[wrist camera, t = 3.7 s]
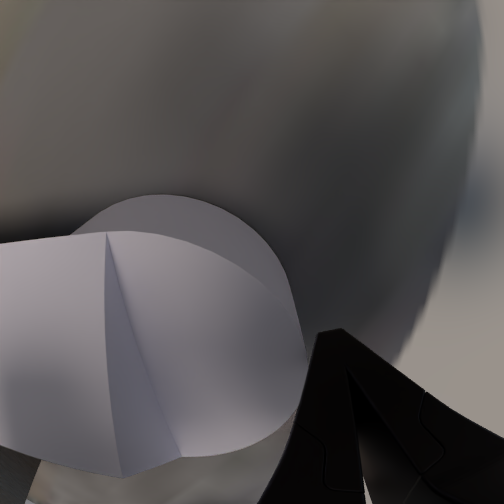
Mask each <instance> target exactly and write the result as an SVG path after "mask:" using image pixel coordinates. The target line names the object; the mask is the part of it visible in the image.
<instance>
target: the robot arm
mask: <svg viewBox="0 0 504 504" xmlns="http://www.w3.org/2000/svg"><path fill="white" fill-rule="evenodd" d="M363 477H364V480H365V483H366V486H367V489H368V492H369V495H370V498H371V501H372V504H504V438H502V437H500V436H498V435H497V434H495V433H493V432H491V431H489V430H487V429H486V428H484V427H482V426H480V425H478V424H476V423H475V422H473V421H471V420H469V419H467V418H466V417H464V416H462V415H461V414H459V413H457V412H456V411H454V410H452V409H451V408H449V407H448V406H446V405H445V404H444V403H442V402H441V401H439V400H438V399H436V398H435V397H434V396H432V395H431V394H430V393H428V392H425V390H424V389H423V388H421V387H420V386H419V385H417V384H416V383H415V382H413V381H412V380H411V379H409V378H408V377H407V376H405V375H404V374H403V373H401V372H400V371H399V370H397V369H396V368H394V367H393V366H392V365H390V364H389V363H388V362H386V361H385V360H384V359H382V358H381V357H380V356H378V355H377V354H376V353H374V352H373V351H372V350H370V349H369V348H368V347H366V346H365V345H364V344H362V343H361V342H360V341H358V340H357V339H356V338H354V337H353V336H352V335H350V334H349V333H348V332H346V331H345V330H344V329H342V328H339V329H334V330H328V331H323V332H318V333H317V335H316V339H315V343H314V347H313V351H312V356H311V360H310V364H309V368H308V372H307V375H306V379H305V383H304V387H303V391H302V394H301V398H300V402H299V405H298V409H297V412H296V416H295V419H294V424H293V426H292V429H291V432H290V436H289V439H288V441H287V444H286V447H285V450H284V453H283V455H282V457H281V459H280V461H279V464H278V466H277V468H276V470H275V472H274V474H273V476H272V478H271V480H270V481H269V483H268V485H267V487H266V489H265V491H264V492H263V494H262V496H261V498H260V500H259V501H258V503H257V504H366V500H365V494H364V492H365V490H364V481H363Z"/></svg>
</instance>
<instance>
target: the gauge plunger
mask: <svg viewBox="0 0 504 504" xmlns="http://www.w3.org/2000/svg"><path fill="white" fill-rule="evenodd" d="M40 462H41V459H38V458H35V457H32V456H29V455H26V454H23V453H20V452H17V451H15V450H12V449H9V448H7V447H4V446H2V445H0V504H25V501H26V498H27V496H28V493H29V490H30V487H31V485H32V482H33V479H34V477H35V474H36V472H37V469H38V467H39V464H40Z"/></svg>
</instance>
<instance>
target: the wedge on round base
mask: <svg viewBox="0 0 504 504" xmlns="http://www.w3.org/2000/svg"><path fill="white" fill-rule="evenodd" d="M307 372H308V360H307V353H306V347H305V343H304V339H303V335H302V331H301V327H300V324H299V320H298V316H297V312H296V308H295V304H294V300H293V296H292V292H291V289H290V285H289V282H288V279H287V276H286V273H285V271H284V269H283V267H282V265H281V263H280V261H279V259H278V258H277V256H276V255H275V253H274V252H273V251H272V249H271V248H270V247H269V245H268V244H267V243H266V242H265V241H264V240H263V239H262V237H261V236H260V235H259V234H258V233H257V232H256V231H255V230H254V229H252V228H251V227H250V226H248V225H247V224H246V223H244V222H243V221H242V220H241V219H239V218H238V217H236V216H234V215H232V214H231V213H229V212H227V211H225V210H224V209H222V208H219V207H217V206H214V205H212V204H209V203H207V202H204V201H201V200H197V199H193V198H189V197H185V196H176V195H166V194H164V195H145V196H140V197H135V198H130V199H127V200H124V201H121V202H119V203H116V204H113V205H111V206H110V207H108V208H106V209H104V210H103V211H101V212H99V213H98V214H97V215H95V216H94V217H93V218H91V219H90V220H89V221H87V222H86V223H85V224H83V225H82V226H81V227H80V228H78V229H77V230H76V231H74V232H73V233H72V234H71V235H69V236H60V237H51V238H43V239H35V240H27V241H19V242H11V243H3V244H0V445H2V446H4V447H7V448H9V449H12V450H15V451H17V452H20V453H23V454H26V455H29V456H32V457H35V458H38V459H41V460H45V461H48V462H51V463H55V464H58V465H62V466H66V467H70V468H74V469H78V470H82V471H86V472H91V473H96V474H101V475H106V476H111V477H117V478H126V477H129V476H132V475H135V474H138V473H141V472H143V471H146V470H149V469H152V468H154V467H157V466H160V465H162V464H165V463H168V462H170V461H173V460H175V459H178V458H180V457H201V456H213V455H219V454H224V453H229V452H232V451H236V450H240V449H243V448H245V447H248V446H250V445H253V444H255V443H257V442H259V441H261V440H262V439H264V438H266V437H268V436H269V435H271V434H272V433H273V432H275V431H276V430H277V429H279V428H280V427H281V426H282V425H283V424H284V423H285V422H286V421H287V420H288V419H289V418H290V417H291V415H292V414H293V413H294V411H295V410H296V409H297V407H298V405H299V402H300V398H301V394H302V391H303V387H304V383H305V379H306V375H307Z"/></svg>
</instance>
